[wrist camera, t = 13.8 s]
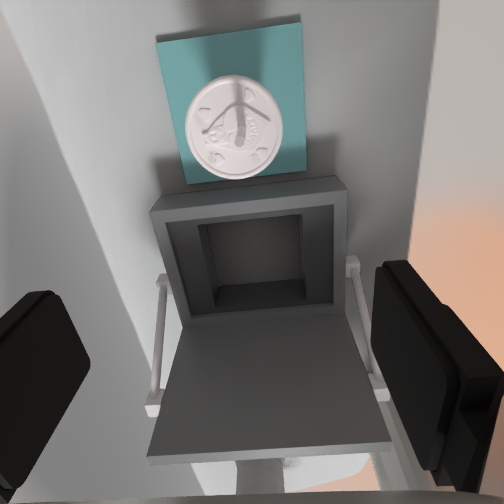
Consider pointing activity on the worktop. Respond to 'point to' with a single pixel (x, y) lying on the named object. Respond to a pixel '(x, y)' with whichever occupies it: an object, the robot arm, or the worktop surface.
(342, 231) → the case
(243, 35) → the mat
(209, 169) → the smoothie
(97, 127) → the worktop surface
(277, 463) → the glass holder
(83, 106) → the worktop surface
